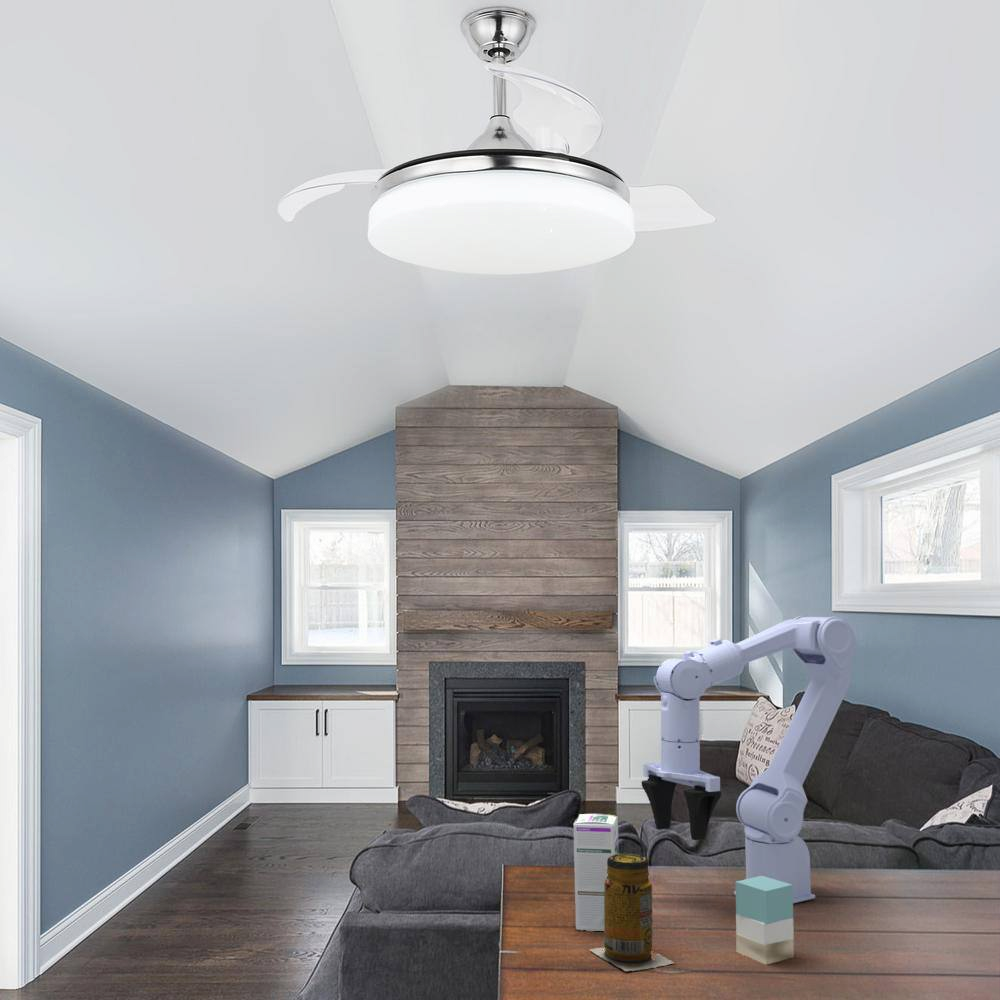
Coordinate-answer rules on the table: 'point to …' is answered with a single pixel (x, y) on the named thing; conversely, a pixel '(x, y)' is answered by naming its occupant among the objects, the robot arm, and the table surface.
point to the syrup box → (592, 866)
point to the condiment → (628, 915)
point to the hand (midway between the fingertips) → (680, 833)
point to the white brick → (765, 930)
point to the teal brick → (764, 899)
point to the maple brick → (765, 950)
